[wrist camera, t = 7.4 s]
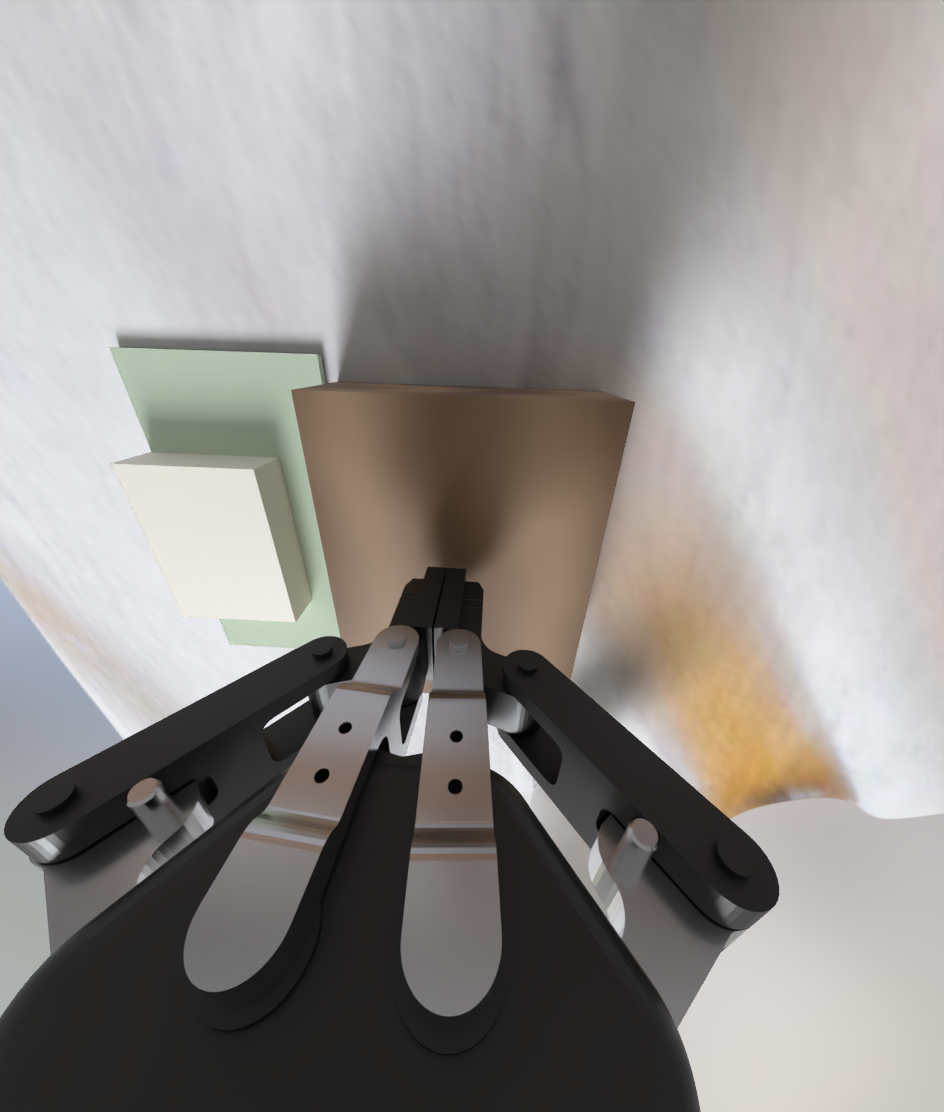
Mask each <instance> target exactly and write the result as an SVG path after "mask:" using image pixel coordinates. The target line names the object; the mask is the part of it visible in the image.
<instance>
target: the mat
mask: <svg viewBox="0 0 944 1112" xmlns="http://www.w3.org/2000/svg"><path fill="white" fill-rule="evenodd" d="M109 348H110V351H111V353H112V355H113V358H114V360H115V363H116V365H117V368H118V370H119V373H120V375H121V378H122V380H123V383H124V385H125V387H126V390H127V392H128V395H129V397H130V400H131V402H132V405H133V407H134V410H135V412H136V415H137V417H138V420H139V422H140V424H141V427H142V429H143V432H144V434H145V437H146V439H147V442H148V444H149V447H150V449H151V452H158V453H182V454H207V455H232V456H257V457H279V460H280V464H281V469H282V473H283V477H284V481H285V485H286V490H287V494H288V498H289V502H290V507H291V511H292V515H293V519H294V524H295V528H296V532H297V536H298V541H299V545H300V549H301V553H302V558H303V562H304V566H305V570H306V574H307V579H308V583H309V587H310V591H311V596H312V601H311V602H310V603H309V605H308V606H307V608H306V609H305V610H304V612H303V613H302V614H301V616H300V617H299V618H298V620H297V621H296V622H277V621H258V620H239V619H220V618H219V619H220V621H221V624H222V626H223V629H224V631H225V634H226V636H227V639H228V641H229V644H232V645H250V646H268V647H286V648H299V647H301V646H302V645H304V644H306V643H308V642H310V641H312V640H314V639H317V638H320V637H325V636H335V637H339V638H340V633H339V628H338V623H337V618H336V613H335V608H334V603H333V598H332V593H331V588H330V583H329V578H328V573H327V568H326V563H325V558H324V553H323V548H322V543H321V538H320V533H319V528H318V523H317V518H316V513H315V508H314V503H313V498H312V493H311V488H310V483H309V478H308V473H307V468H306V463H305V458H304V453H303V448H302V443H301V438H300V433H299V428H298V423H297V418H296V413H295V408H294V403H293V398H292V393H291V390H293V389H299V388H305V387H311V386H317V385H323V384H326V381H325V375H324V368H323V362H322V356H321V354H298V353H268V352H238V351H208V350H178V349H149V348H119V347H109Z"/></svg>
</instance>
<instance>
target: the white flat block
mask: <svg viewBox="0 0 944 1112" xmlns="http://www.w3.org/2000/svg"><path fill="white" fill-rule="evenodd" d="M111 466H112V468H113V470H114V472H115V474H116V476H117V479H118V481H119V483H120V485H121V487H122V489H123V491H124V493H125V496H126V498H127V500H128V502H129V504H130V506H131V508H132V510H133V513H134V515H135V517H136V519H137V521H138V523H139V525H140V528H141V530H142V532H143V534H144V536H145V538H146V540H147V542H148V545H149V547H150V549H151V551H152V553H153V555H154V557H155V559H156V562H157V564H158V566H159V568H160V570H161V572H162V574H163V576H164V579H165V581H166V583H167V585H168V587H169V589H170V591H171V593H172V596H173V598H174V600H175V602H176V604H177V606H178V608H179V610H180V613H181V615H182V617H201V618H220V619H239V620H258V621H277V622H296V621H297V620H298V618H299V617H300V616H301V614H302V613H303V612H304V610H305V609H306V608H307V606H308V605H309V603H310V602H311V601H312V596H311V591H310V587H309V583H308V579H307V574H306V570H305V566H304V562H303V558H302V553H301V549H300V545H299V541H298V536H297V532H296V528H295V524H294V519H293V515H292V511H291V507H290V502H289V498H288V494H287V490H286V485H285V481H284V477H283V473H282V469H281V464H280V460H279V457H257V456H232V455H207V454H182V453H158V452H150V453H146V454H143V455H139V456H136V457H132V458H129V459H125V460H122V461H118V462H115V463H111Z"/></svg>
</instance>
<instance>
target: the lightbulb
mask: <svg viewBox="0 0 944 1112" xmlns="http://www.w3.org/2000/svg"><path fill="white" fill-rule="evenodd" d="M533 788H534V789H533V791H532V794H531V799H530V808H531V809H532V811H533V812H534V814H535V815H536V817H537V818H538V820H539V821H540V822H541V824H542V825H543V827H544V828H545V830H546V831H547V833H548V834H549V835H550V837H551V838H552V840H553V841H554V843H555V844H556V845H557V847H558V848H559V850H560V851H561V853H562V854H563V856H564V857H565V858H566V860H567V861H568V863H569V864H570V866H571V867H572V868H573V870H574V871H575V873H576V874H577V876H578V877H579V878H580V880H581V881H582V883H583V884H584V886H585V887H586V889H587V890H588V891H589V893H590V894H591V896H592V897H593V899H594V900H595V901H596V903H597V904H598V906H599V907H600V909H601V910H602V911H603V913H604V914H605V916H606V917H607V919H608V920H609V922H610V919H609V916H608V913H607V910H606V908H605V906H604V904H603V902H602V900H601V898H600V897H599V895H598V893H597V892H596V890H595V888H594V886H593V884H592V881H591V878H590V874H589V868H588V859H589V854H590V851H591V849H590V848H589V847H588V845H587V844H586V843H585V842H584V840H583V839H582V838H581V837H580V835H579V834H578V833H577V832H576V830H575V829H574V828H573V827H572V825H571V824H570V823H569V822H568V820H567V819H566V818H565V817H564V815H563V814H562V813H561V812H560V810H559V809H558V808H557V807H556V805H555V804H554V803H553V802H552V800H551V799H550V798H549V797H548V795H547V794H546V793H545V792H544V790H543V789H542V788H541V787H540V785H539V784H538V783H537V782H536V780H535V779H534V778H533Z"/></svg>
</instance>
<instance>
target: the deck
mask: <svg viewBox="0 0 944 1112" xmlns="http://www.w3.org/2000/svg"><path fill="white" fill-rule="evenodd" d="M291 393H292V398H293V403H294V408H295V413H296V418H297V423H298V428H299V433H300V438H301V443H302V448H303V453H304V458H305V463H306V468H307V473H308V478H309V483H310V488H311V493H312V498H313V503H314V508H315V513H316V518H317V523H318V528H319V533H320V538H321V543H322V548H323V553H324V558H325V563H326V568H327V573H328V578H329V583H330V588H331V593H332V598H333V603H334V608H335V613H336V618H337V623H338V628H339V633H340V638H341V639H343V640H344V641H345V642H346V644H347V648H349V647H354V646H360V645H365V644H369V643H372V642H373V641H374V639H375V637H376V636H377V634H378V633H379V632H380V631H382V630H383V629H385V628H387V627H389V625H390V622H391V620H392V617H393V615H394V612H395V610H396V607H397V605H398V603H399V600H400V597H401V596H402V592H403V590H404V587H405V585H406V584H407V583H409V582H410V581H411V580H412V579H413V578H417V579H424V576H425V573H426V570H427V567H445V568H463V569H466V581H468V582H479V583H480V585H481V587H482V588H483V590H484V595H483V614H482V633H481V637H482V641H483V643H484V644H485V645H486V646H487V647H488V648H489V649H490V650H491V651H493V652H495V653H498V654H500V655H503V656H507V655H508V654H510V653H511V652H514V651H517V650H531V651H534V652H537V653H539V654H541V655H542V656H543V657H545V658H546V659H547V660H548V661H549V662H550V663H552V664H553V665H554V666H555V667H556V668H557V669H558V670H560V671H561V672H562V673H563V674H564V675H565V676H566V677H568V678H569V679H570V678H571V674H572V670H573V665H574V661H575V657H576V653H577V648H578V644H579V640H580V636H581V631H582V627H583V623H584V618H585V614H586V610H587V606H588V601H589V597H590V593H591V589H592V584H593V580H594V576H595V571H596V567H597V563H598V559H599V554H600V550H601V546H602V541H603V537H604V533H605V529H606V524H607V520H608V516H609V512H610V507H611V503H612V499H613V494H614V490H615V486H616V482H617V477H618V473H619V469H620V465H621V460H622V456H623V452H624V447H625V443H626V439H627V435H628V430H629V426H630V422H631V418H632V413H633V409H634V405H635V402H632V401H629V400H626V399H623V398H620V397H617V396H614V395H611V394H608V393H604V392H601V391H577V390H549V389H521V388H493V387H465V386H436V385H408V384H380V383H352V382H334V383H328V384H323V385H317V386H311V387H305V388H299V389H293V390H291ZM432 682H433V681H429V680H425V684H424V689H423V692H422V693H430V692H431V691H432Z"/></svg>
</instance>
